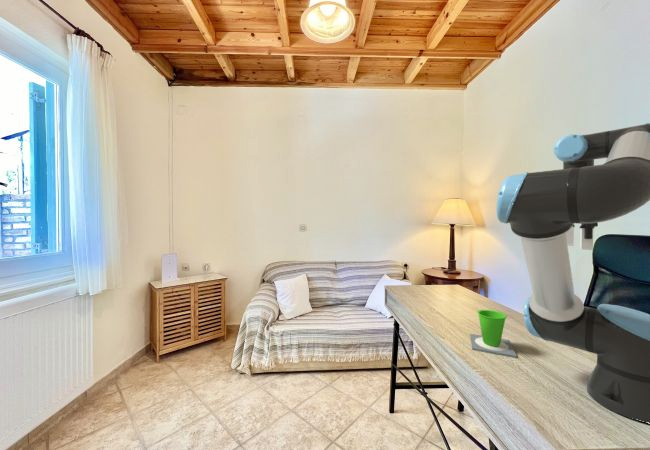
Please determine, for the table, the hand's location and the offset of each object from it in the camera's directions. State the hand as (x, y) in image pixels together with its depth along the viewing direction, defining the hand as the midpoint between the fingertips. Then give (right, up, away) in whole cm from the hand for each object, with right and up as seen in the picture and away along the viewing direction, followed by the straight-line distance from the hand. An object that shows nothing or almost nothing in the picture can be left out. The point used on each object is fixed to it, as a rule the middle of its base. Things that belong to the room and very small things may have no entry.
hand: (576, 247), depth 89 cm
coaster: (-24, -37, +8) cm, 44 cm away
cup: (-24, -36, +8) cm, 44 cm away
